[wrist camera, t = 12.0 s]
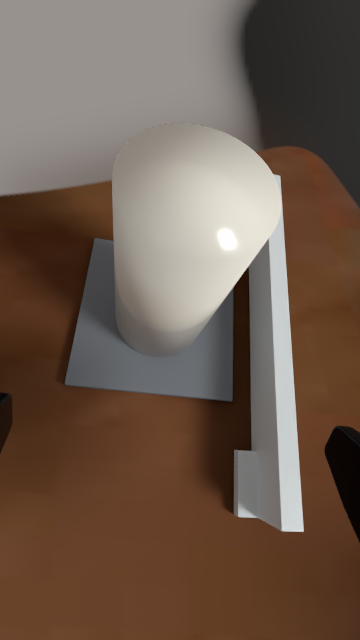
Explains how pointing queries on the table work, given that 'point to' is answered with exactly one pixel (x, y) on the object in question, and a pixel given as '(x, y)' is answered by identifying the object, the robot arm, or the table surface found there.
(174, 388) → the slate mat
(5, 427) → the robot arm
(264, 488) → the light grey long bar
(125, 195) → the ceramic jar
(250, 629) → the table surface
